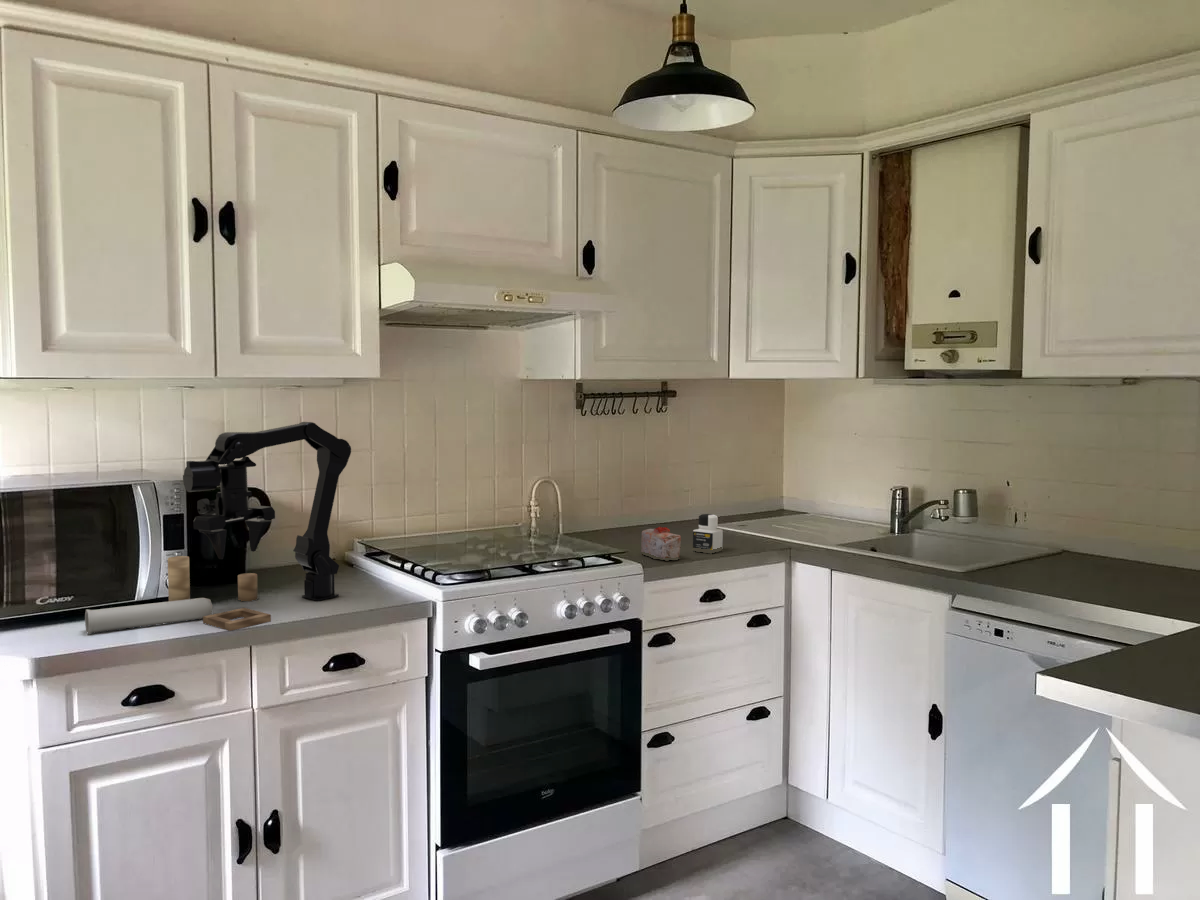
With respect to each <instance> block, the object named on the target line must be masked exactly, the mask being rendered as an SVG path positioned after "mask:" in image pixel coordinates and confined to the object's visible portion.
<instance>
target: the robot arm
mask: <svg viewBox="0 0 1200 900" xmlns="http://www.w3.org/2000/svg"><path fill="white" fill-rule="evenodd" d="M303 440H304V441H305V442H306V443H307V444H308V445H309V446H310V447H311V448H312V449H314V450H316V463H317V468H318V477H317V482H316V487H315V491H314V497H313V502H312V507H311V510H310V511H311V512H310V516H309V520H308V525H307V529H306V531H305V532H304V533H303V535H299V534H298V535H297V536H296V540H295V546H294V549H293V553H294V557H295V558H294V559H295V560H296V561H297V563H298V564H299V565H300V566H301V568H302V570H303V572H305V579H304V581H303V582H304V584H303V585H304V587H303V588H304V589H303V590H304V594H302V595H301V598H304V599H308V600H311V601H315V602H316V601H317V602H318V601H324V600H328V599H331V598H332V599H333V598H337V597H339V595H340V594H339V593H335V592H336V591H335V586H336V584H335V582H336V581H335V575H337V573H338V571H339V567H340V565H339V564H338V562H336V561H335V559H333V558H332V557H331V556H330V554H331V553H330V552H331V550H330V549H331V545H330V544H331V543H330V539H329V535H328V531H329V526H330V522H331V517H332V511H333V506H334V504H335V503H334V502H335V496H336V492H337V487H338V482H339V478H340V475H341V474H342V473H343V470H345V468H346V467H347V465H348V462H349V459H350V457H351V454H352V446H351V445H350V442H348V440H346V439H343V438H338V437H337V436H335V435H334V434H332V433H330V432H328V431H327V430H324V429H323V428H322V427H320V426H319V425H318V424H316V423H315V422H313V421H301V422H299V423H296V424H289V425H286V426H281V427H275V428H269V429H264V430H259V431H250V432H249V431H228V432H227V431H226V432H223V433H220V434H219V435H218V436H217V438H216V439H215V443H214V444H215V445H214V448H213V449H212V451H210V453H209V454H208V456H207V457H206V459H205V460H199V461H198V460H197V461H195V460H187V461H186V463H185V464H186V467H184V471H183V475H182V482H183V486H184V488H185V490H186V492H187V493H192V492H202V491H203V492H204V491H211V490H212V491H214V490H216V489H217V488H218V486H220V491H217V492H216V494H215V496H216V498H215V499H213V500H209V499H208V498H201V499H199V500H197V504H196V505H197V506H196V508H197V509H196V510H197V513H198V514H199V515H198V516H195V517H194V520H193V521H192V522H193V525H192V526H193V530H198V531H199V533H202V534H204V535H206V536H207V537H208V539H209V541H210V543H211V545H212V548H213V550H214V551H215V554H216V555H217V558H218V559H219V560H223V559H224V557H225V551H226V540H227V534H228V533H227V531H228V530H227V529H224V528H225V527H226V525H228V524H232V523H235V522H241V521H242V522H243V521H244V523H245V525H246V526H247V528H248V534H249V535H248V536H249V537H248V540H249V548H250V552H252V553H253V552H256V550H257V548H258V546H259V544H260V541H261V539H262V537H263V535H264V533H265V531H266V529H267V527H268V526H269V525H270V524H271V523H272V520H275V519H276V510H275V509H274V508H273V506H268V505H267V506H266V505H256V506H255V505H254V506H249V497H252V496H253V493H252V492H253V491H251V490H248V489H249V488H248V487H249V486H248V468H251V467H252V468H253V467H256V466H257V463H256V462H254V461H253V460H252V459H251V458H250V457H249V456H250V455H253V454H255V453H256V452H258V451H259V450H262V449H265V448H269V447H274V446H279V445H283V444H289V443H293V442H297V441H303ZM236 459H237V460H236Z"/></svg>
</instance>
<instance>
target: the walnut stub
mask: <svg viewBox="0 0 1200 900" xmlns="http://www.w3.org/2000/svg"><path fill="white" fill-rule="evenodd" d="M257 598H259V597H258V574H257V573H254V572H253V573H251V572H249V573H248V572H246V573H240V574H238V575H237V601H238V600H241V601H240V602H242V601H248V602H253V601H252V600H255V601H257V600H258V599H257ZM256 599H257V600H256Z"/></svg>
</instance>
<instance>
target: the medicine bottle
mask: <svg viewBox="0 0 1200 900" xmlns="http://www.w3.org/2000/svg"><path fill="white" fill-rule="evenodd" d="M718 518H719V517H718V516H717V515H716V514H713V513H702V514H700V515H698V528H696V529H693V530H692V549H693V548H701V549H710V550H713V549H717V548H720V547H722V548H723V540H724V539H723V534H724V531H723V529H721V528H718V527H719V525H718V524H719V523H718V521H719V519H718Z"/></svg>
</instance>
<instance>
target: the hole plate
mask: <svg viewBox="0 0 1200 900" xmlns="http://www.w3.org/2000/svg"><path fill="white" fill-rule="evenodd" d="M271 614H272V613H271ZM271 614H270V613H266V612H262V611H259V610H254V609H251V608H246V607H241V608H235V609H232V610H227V611H223V612H217V613H214V614H213V613H212V615H208V616H203V619H202V621H203V622H202V623H203V624H204V623H206V624H205V625H208V624H209V625H208V626H211V625H212V627H215V626H216V628H218V627H220V628H219V629H222V630H225V629H226V631H228V632H229V631H230V632H231V631H235V630H239V629H243V628H247V627H252V626H256V625H260V624H264V623H269V622H271V621H272V615H271ZM237 617H240V618H237ZM243 617H244V618H243ZM234 618H235V619H234ZM230 619H231V620H230Z"/></svg>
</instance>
